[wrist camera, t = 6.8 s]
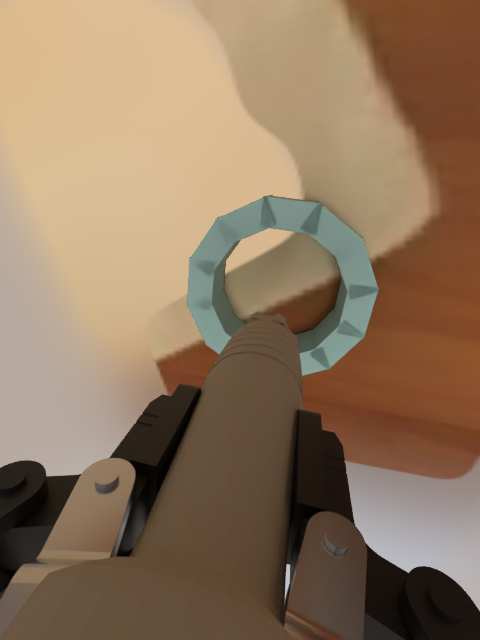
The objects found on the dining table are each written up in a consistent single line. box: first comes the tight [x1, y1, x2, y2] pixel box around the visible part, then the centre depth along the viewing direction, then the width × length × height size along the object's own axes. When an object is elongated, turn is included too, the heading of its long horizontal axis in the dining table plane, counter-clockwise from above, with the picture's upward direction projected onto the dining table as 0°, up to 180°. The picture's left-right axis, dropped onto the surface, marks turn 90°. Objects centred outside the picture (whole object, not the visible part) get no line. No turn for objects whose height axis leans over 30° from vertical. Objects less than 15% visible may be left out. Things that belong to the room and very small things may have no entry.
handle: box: [0, 312, 302, 640], centre depth 11 cm, size 5×6×15 cm
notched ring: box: [187, 195, 379, 376], centre depth 26 cm, size 14×14×4 cm
